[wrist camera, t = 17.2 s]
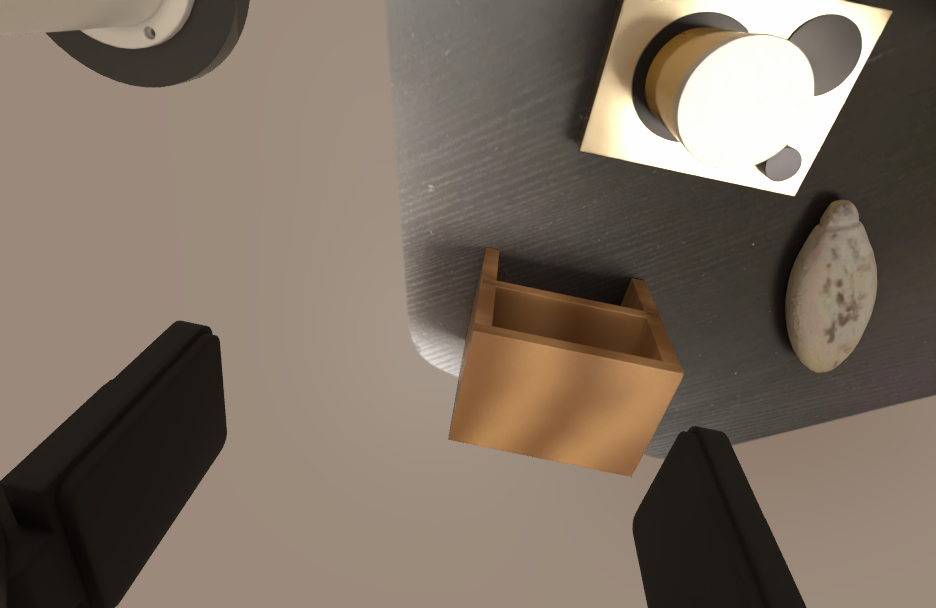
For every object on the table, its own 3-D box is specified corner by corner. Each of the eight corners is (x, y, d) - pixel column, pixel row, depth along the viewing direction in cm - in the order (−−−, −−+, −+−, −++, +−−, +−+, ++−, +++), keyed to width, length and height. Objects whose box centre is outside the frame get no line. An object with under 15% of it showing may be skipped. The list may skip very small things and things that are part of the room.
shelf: (465, 340, 50) (448, 439, 39) (486, 247, 45) (473, 330, 34) (608, 370, 50) (631, 477, 39) (645, 280, 45) (684, 374, 34)
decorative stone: (873, 187, 39) (901, 202, 36) (851, 352, 47) (872, 376, 44) (785, 203, 41) (805, 219, 38) (776, 361, 48) (793, 385, 45)
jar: (629, 122, 36) (657, 156, 28) (665, 14, 33) (708, 20, 25) (722, 141, 36) (775, 181, 29) (767, 36, 33) (842, 49, 25)
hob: (576, 143, 40) (580, 155, 37) (630, -43, 34) (640, -47, 30) (780, 186, 40) (802, 202, 37) (871, 9, 34) (906, 11, 31)
